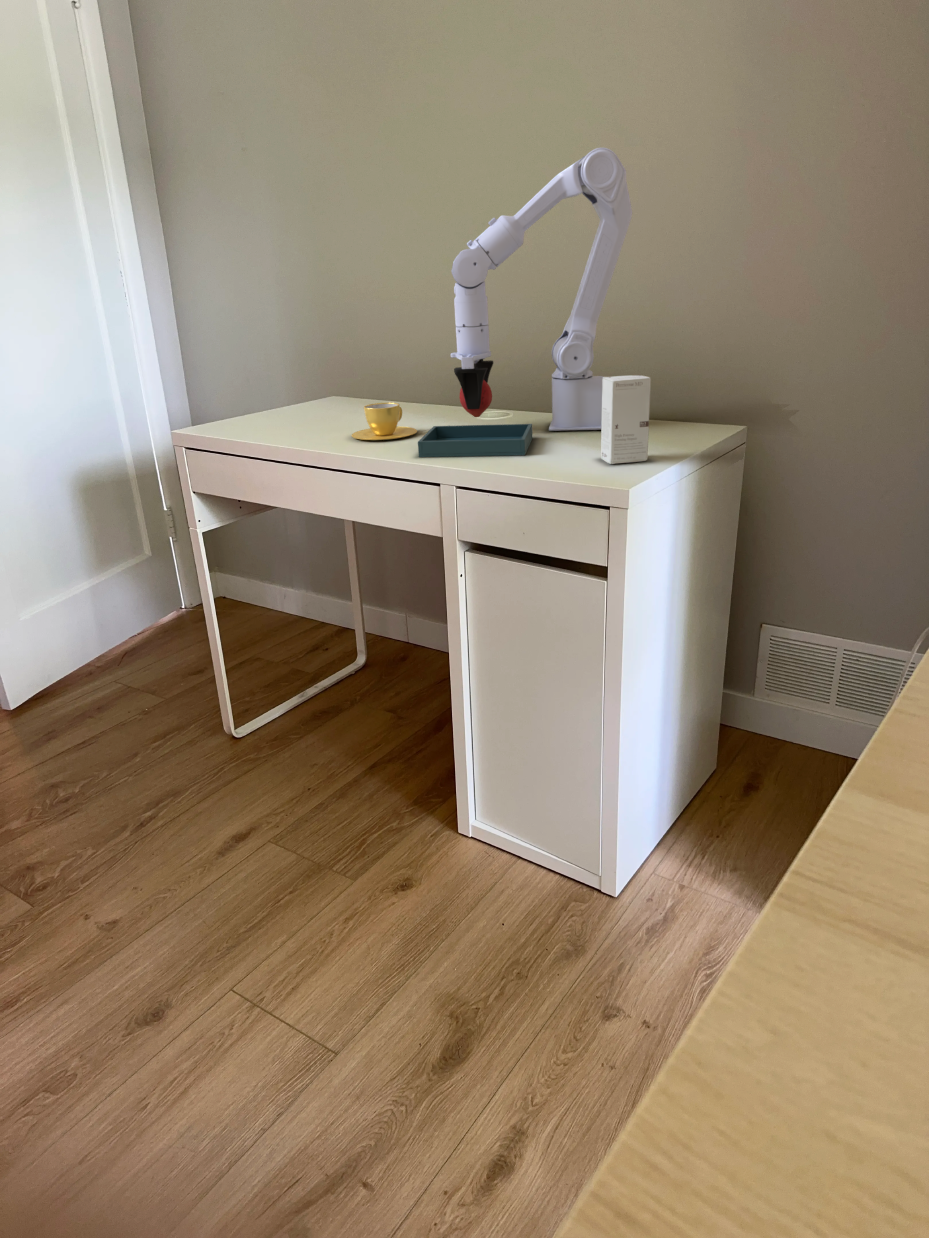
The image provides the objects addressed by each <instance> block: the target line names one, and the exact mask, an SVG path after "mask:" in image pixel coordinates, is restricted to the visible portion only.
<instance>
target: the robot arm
mask: <svg viewBox="0 0 929 1238" xmlns="http://www.w3.org/2000/svg"><path fill="white" fill-rule="evenodd" d="M579 195H583V196H584V197H585V198H586V199H587V200H588V201H589V202H590V203H591V205H592V207H593V209H594V211H595V213H596V215H597V216H598V219H599V222H598V227H597V229H596V232H595V236H594V239H593V241H592V245H591V248H590V252H589V255H588V258H587V261H586V263H585V267H584V271H583V274H582V277H581V280H580V283H579V285H578V290H577V293H576V295H575V298H574V302H573V305H572V308H571V312H570V314H569V316H568V319H567V321H566V323H565V325H564V328H563V331H562V333H561V335H560V336H559V337H558V338H557V339H556V340H555V342H554V343H553V345H552V347H551V359H552V362H553V364H554V365H555V366H556V368H555V370H554V371H553V373H551V408H552V409H551V414H552V415H551V419H552V420H551V421H550V424H549V426H548V431H550V432H554V431H555V432H557V431H558V432H559V431H597V430H599V431H600V430H601V429H602V379H603V377H605V376H604V375H594V371H592V370H591V368H592V366H593V363H594V359H595V353H594V344H595V339H596V335H597V326H598V321H599V318H600V315H601V312H602V309H603V306H604V303H605V300H606V297H607V294H608V291H609V288H610V285H611V282H612V279H613V275H614V272H615V269H616V266H617V263H618V261H619V257H620V255H621V252H622V248H623V245H624V242H625V239H626V236H627V234H628V230H629V227H630V223H631V221H632V218H633V217H632V216H633V209H632V208H633V207H632V204H631V203H632V202H631V197H630V191H629V186H628V182H627V170H626V168H625V167H624V165H623V163H622V161H621V159H620V158H619V156H618V154H616V153H615V151H613V150H612V149H610V148H607V147H602V146H601V147H596V148H593V149H592V150H590V151H589V152H588V153H587V154H586V155H584V156H582V158H580V159H578V160H576V161H575V162H574V163H572V164H571V165H569V166H568V167H566V168H565V169H563V170H562V171H560V172H558V173H557V174H556V175H555V176H554V177H553V178H552V179H550V180H549V182H547V183H546V184H545V185H544V186H543V187H542V188H541V189H540V190H539V191H538V192H536V194H535V195H534V196H533V197H532V198H531V199H530V200H529V201H527V202H526V203H525V204H524V205H523V206H522V207H521V208H520V209H519V210H518V211H517V212H516V213H515V214H513V215H504V214H502V215H500V216H499V217H498V218H496V217H492V218H491V219H490V220H489V221H488V225H489V226H488V227H487V228H486V229H485V230H483V231H482V232H481V233H480V234H479V235H478V236H477V237H476V238H475V239H470V240H469V241H467V242H466V246H467V247H468V248H465V249H463V250H461V251H459V253H458V254H457V255H456V257H455V258H454V260H453V262H452V267H451V275H452V277H453V279H454V281H455V282H454V286H453V294H454V295H455V297H454V298H453V304H454V320H455V321H454V322H455V323H454V324H455V337H456V338H455V339H456V352H451V353H450V358H451V359H454V358H455V359H458V360H459V361H461V367H458V366H457V367H455V368H453V372H454V375H455V377H456V379H457V380H458V382H459V385H460V388H461V387H462V390H463V394H464V398H465V402H466V406H467V409H479V408H480V404H481V394H482V385H483V380H485V381H486V382H487V383H488V382H489V377H490V373H491V371H492V368H493V366H494V360H486V359H487V358H490V357H491V356H492V351H491V346H490V324H489V322H490V321H489V304H488V303H489V302H488V301H489V300H488V296H487V293H486V281H485V280H486V279H487V276H488V273H489V270H493V271H494V270H496V269H497V268H498V267H499V266H500V265H502V264H503V263H504V262H505V261H506V260H507V259H508V258H510V257H511V256H512V255H513V254H514V253H516V252H517V250H518V249H519V248H521V247H522V246H524V245H523V244H524V239H525V232H526V231H527V230H528V229H529V228H531V227H532V226H533V225H535V223H537V222H538V221H540V219H542V218H543V217H544V216H545V215H546V214H547V213H548V212H550V211H551V210H552V209H553V208H554V207H556V206H557V205H558V204H559V203H560V202H562V200H567V199H571V198H574V197H577V196H579ZM488 384H489V383H488Z"/></svg>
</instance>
